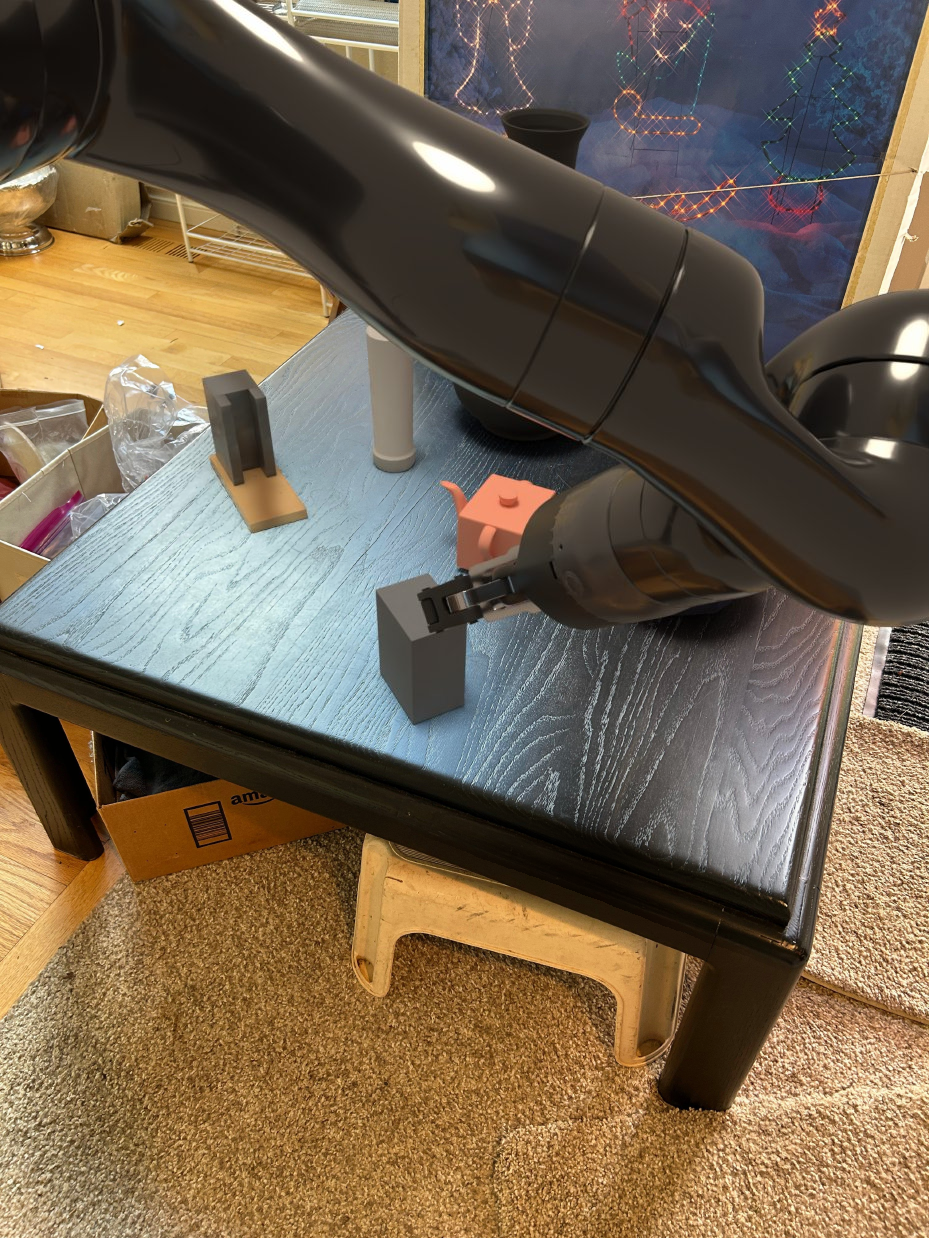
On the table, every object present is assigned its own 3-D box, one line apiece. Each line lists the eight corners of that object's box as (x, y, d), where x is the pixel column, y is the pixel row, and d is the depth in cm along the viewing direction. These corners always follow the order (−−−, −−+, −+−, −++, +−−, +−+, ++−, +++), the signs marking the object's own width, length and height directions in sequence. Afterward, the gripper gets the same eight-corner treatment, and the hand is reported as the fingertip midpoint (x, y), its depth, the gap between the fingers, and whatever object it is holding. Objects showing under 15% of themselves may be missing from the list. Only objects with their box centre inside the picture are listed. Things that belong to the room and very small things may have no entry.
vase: (449, 387, 122) (452, 95, 98) (584, 387, 123) (619, 98, 99) (453, 461, 108) (458, 143, 85) (604, 461, 109) (651, 146, 86)
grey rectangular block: (413, 724, 78) (411, 641, 71) (370, 658, 83) (365, 575, 77) (464, 705, 79) (467, 621, 73) (419, 642, 85) (418, 559, 78)
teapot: (550, 613, 89) (557, 546, 83) (414, 569, 93) (413, 503, 87) (590, 547, 97) (599, 481, 91) (463, 509, 101) (465, 445, 95)
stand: (251, 533, 97) (236, 442, 89) (210, 463, 107) (193, 377, 99) (307, 517, 99) (297, 428, 92) (262, 451, 109) (249, 365, 102)
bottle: (368, 471, 106) (356, 257, 90) (378, 448, 110) (368, 239, 93) (411, 475, 106) (407, 262, 89) (419, 452, 110) (417, 243, 93)
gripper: (713, 440, 47) (569, 506, 62) (472, 511, 42) (379, 565, 57) (758, 577, 47) (603, 610, 62) (523, 665, 42) (417, 678, 57)
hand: (497, 588), depth 59 cm, fingers open, 8 cm apart
